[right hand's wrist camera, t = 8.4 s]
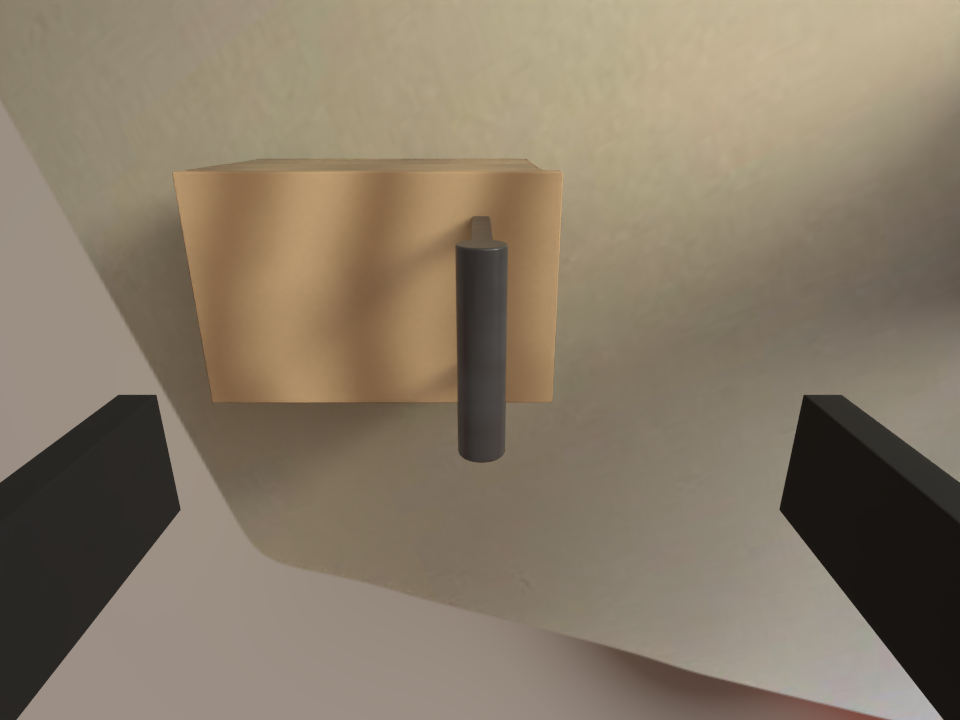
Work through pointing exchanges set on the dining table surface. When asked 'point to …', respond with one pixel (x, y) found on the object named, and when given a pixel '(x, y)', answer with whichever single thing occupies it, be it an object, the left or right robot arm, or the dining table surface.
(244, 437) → the dining table surface
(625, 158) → the dining table surface
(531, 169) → the chest
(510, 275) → the lid
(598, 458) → the dining table surface
